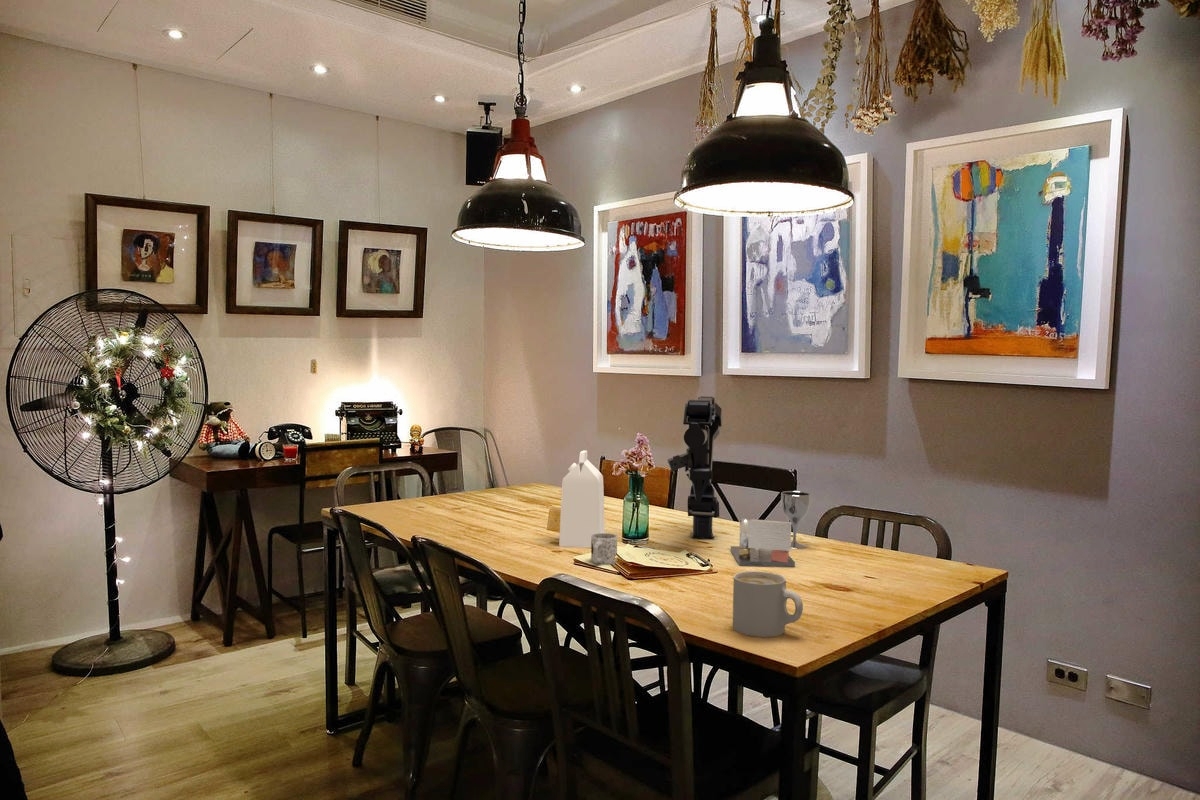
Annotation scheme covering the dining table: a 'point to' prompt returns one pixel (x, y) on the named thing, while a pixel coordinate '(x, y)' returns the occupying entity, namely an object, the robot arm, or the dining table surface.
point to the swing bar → (765, 534)
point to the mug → (603, 548)
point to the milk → (581, 504)
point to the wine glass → (795, 511)
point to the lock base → (762, 557)
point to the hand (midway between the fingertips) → (697, 500)
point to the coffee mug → (762, 604)
